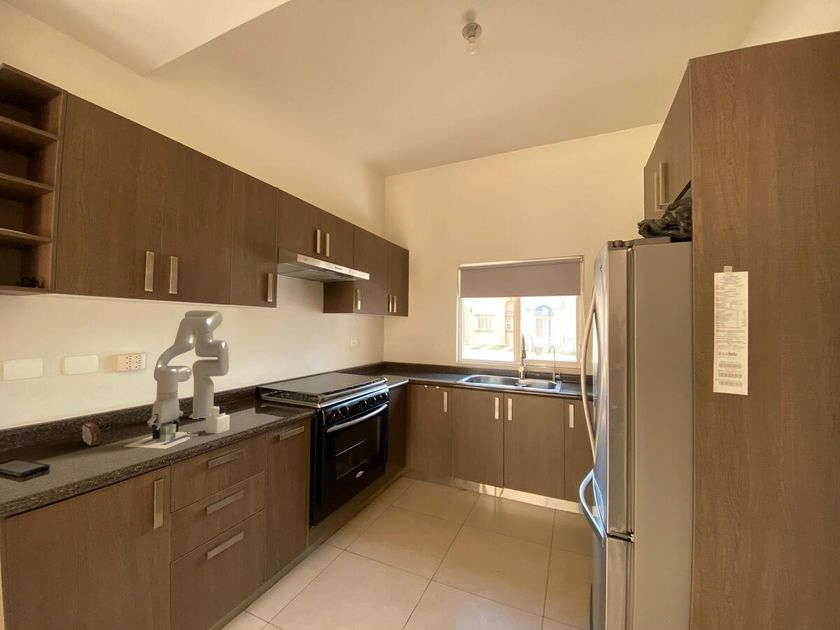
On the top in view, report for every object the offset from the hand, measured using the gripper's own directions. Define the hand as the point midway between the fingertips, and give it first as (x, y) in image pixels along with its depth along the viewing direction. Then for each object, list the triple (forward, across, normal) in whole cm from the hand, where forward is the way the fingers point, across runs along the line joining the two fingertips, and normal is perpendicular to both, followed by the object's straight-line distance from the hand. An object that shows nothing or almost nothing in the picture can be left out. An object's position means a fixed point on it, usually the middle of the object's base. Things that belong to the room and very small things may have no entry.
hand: (165, 435), depth 148 cm
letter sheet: (+2, 0, 0) cm, 2 cm away
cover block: (+2, 0, 0) cm, 2 cm away
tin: (+2, +9, -27) cm, 29 cm away
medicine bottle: (+2, -14, +14) cm, 20 cm away
